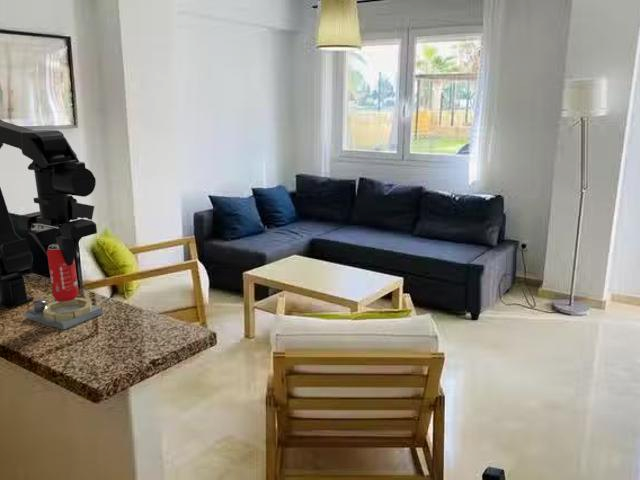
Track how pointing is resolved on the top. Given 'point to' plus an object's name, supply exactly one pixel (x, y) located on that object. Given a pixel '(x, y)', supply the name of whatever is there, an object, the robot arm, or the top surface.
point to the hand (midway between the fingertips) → (61, 263)
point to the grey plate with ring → (63, 312)
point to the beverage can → (62, 275)
